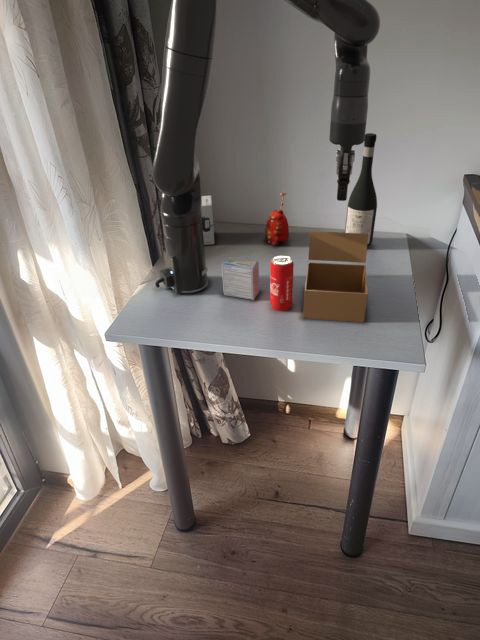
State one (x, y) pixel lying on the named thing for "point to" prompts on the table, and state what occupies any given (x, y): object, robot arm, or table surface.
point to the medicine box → (240, 277)
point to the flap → (338, 246)
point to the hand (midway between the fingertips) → (341, 199)
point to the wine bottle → (363, 196)
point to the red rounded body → (277, 227)
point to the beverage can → (281, 282)
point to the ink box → (207, 220)
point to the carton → (335, 292)
